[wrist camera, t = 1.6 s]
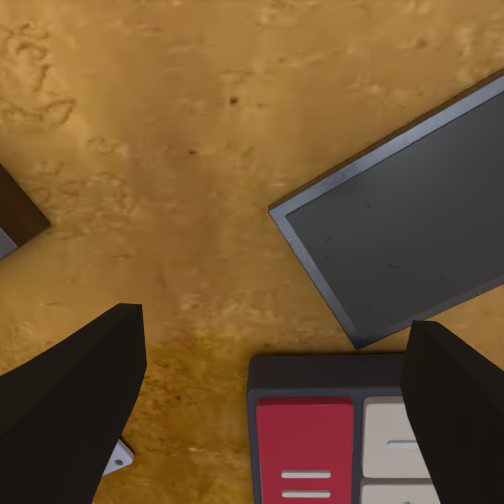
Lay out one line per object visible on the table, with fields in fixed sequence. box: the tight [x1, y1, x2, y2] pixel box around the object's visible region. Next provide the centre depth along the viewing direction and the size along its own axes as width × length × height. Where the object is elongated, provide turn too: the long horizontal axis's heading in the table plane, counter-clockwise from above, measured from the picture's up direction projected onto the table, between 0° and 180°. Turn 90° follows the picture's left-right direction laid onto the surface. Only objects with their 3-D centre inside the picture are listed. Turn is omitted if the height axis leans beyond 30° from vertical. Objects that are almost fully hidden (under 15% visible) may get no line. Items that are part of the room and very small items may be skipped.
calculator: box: [246, 354, 440, 504], centre depth 25 cm, size 11×4×15 cm
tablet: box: [268, 68, 504, 350], centre depth 20 cm, size 12×9×1 cm
